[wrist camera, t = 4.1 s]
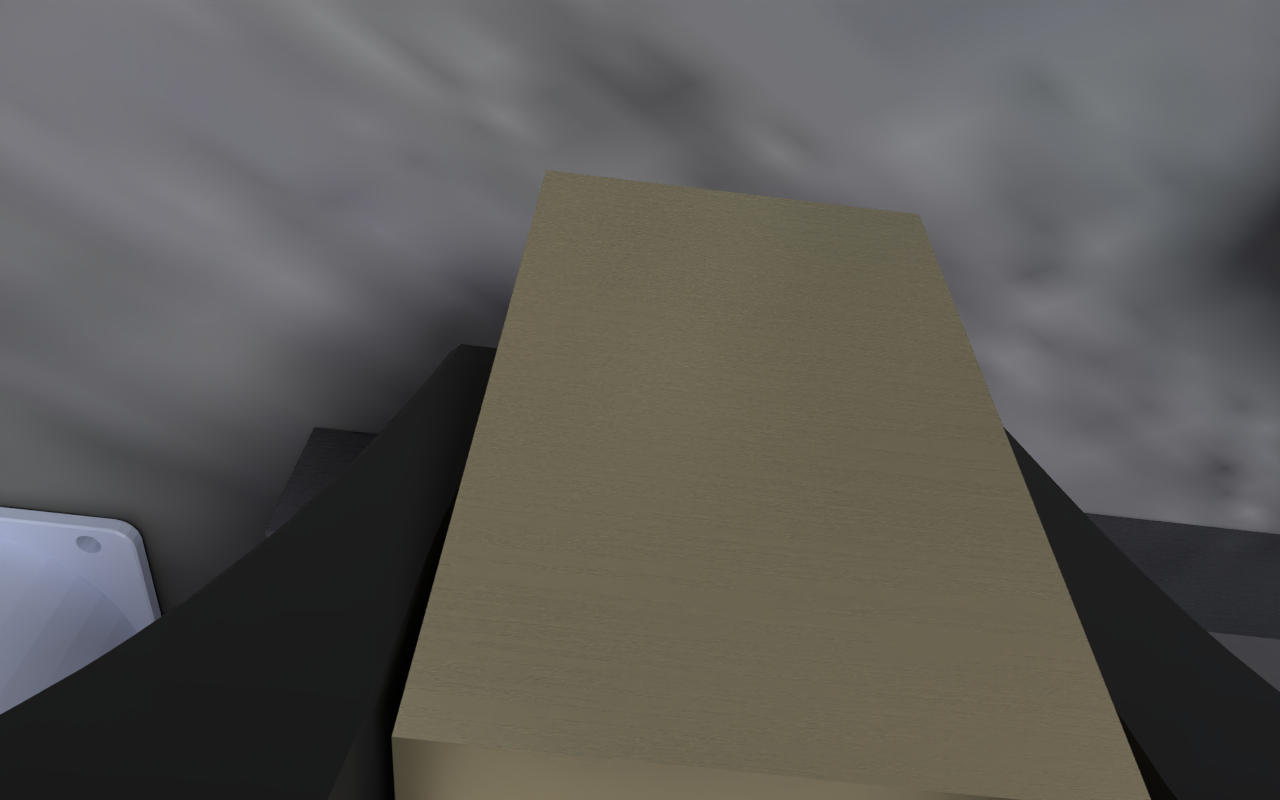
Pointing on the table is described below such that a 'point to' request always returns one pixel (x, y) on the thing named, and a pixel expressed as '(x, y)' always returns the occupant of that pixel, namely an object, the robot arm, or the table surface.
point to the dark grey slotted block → (1165, 552)
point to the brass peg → (745, 531)
